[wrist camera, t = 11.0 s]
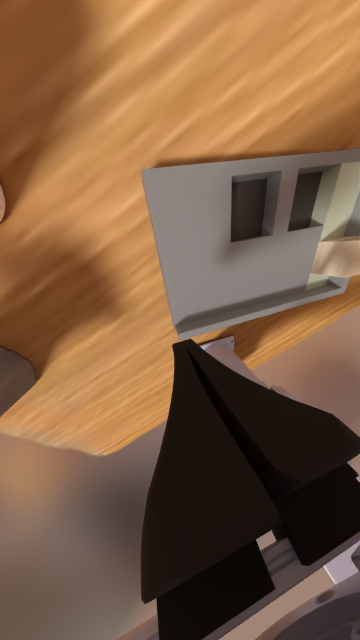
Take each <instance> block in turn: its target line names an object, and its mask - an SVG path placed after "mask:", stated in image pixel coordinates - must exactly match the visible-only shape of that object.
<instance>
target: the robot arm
mask: <svg viewBox="0 0 360 640" xmlns="http://www.w3.org/2000/svg"><path fill="white" fill-rule="evenodd" d="M172 347H173V352H174V382H173V391H172V398H171V404H170V409H169V415H168V420H167V424H166V429H165V433H164V437H163V441H162V445H161V449H160V453H159V457H158V461H157V464H156V467H155V471H154V474H153V478H152V482H151V485H150V488H149V492H148V496H147V503H146V509H145V516H144V523H143V533H142V543H141V599H142V601H143V602H144V604H146V603H148V602H150V601H152V600H154V599H156V598H157V615H155V616H153V617H152V618H150V619H149V620H147V621H145V622H144V623H142V624H140V625H139V626H137V627H136V628H134V629H132V630H131V631H129V632H127V633H126V634H124V635H123V636H121V637H119V638H118V639H116V640H218V639H220V638H221V637H223V636H224V635H226V634H227V633H228V632H230V631H231V630H233V629H234V628H236V627H237V626H238V625H240V624H241V623H243V622H244V621H246V620H247V619H248V618H250V617H251V616H253V615H254V614H256V613H257V612H258V611H260V610H261V609H263V608H264V607H266V606H267V605H268V604H270V603H271V602H273V601H274V600H276V599H277V598H278V597H280V596H281V595H283V594H284V593H286V592H287V591H288V590H290V589H291V588H293V587H294V586H296V585H297V584H299V583H300V582H301V581H303V580H304V579H306V578H307V577H309V576H310V575H311V574H313V573H314V572H316V571H317V570H319V569H320V568H321V567H323V566H324V568H325V569H326V571H327V572H328V574H329V576H330V577H331V579H332V580H333V582H334V583H335V585H334V586H333V587H331V588H329V589H328V590H326V591H324V592H322V593H321V594H319V595H317V596H315V597H313V598H312V599H310V600H308V601H307V602H305V603H303V604H302V605H300V606H298V607H297V608H296V609H294V610H292V611H291V612H289V613H288V614H286V615H285V616H284V617H282V618H281V619H280V620H278V621H277V622H276V623H275V624H273V625H272V626H271V627H269V628H268V629H267V630H266V631H264V632H263V633H262V634H261V635H260V636H259V637H258V638H256V639H255V640H360V478H359V474H358V472H357V471H356V469H354V467H353V466H352V462H351V459H353V458H354V457H356V456H357V455H358V454H360V437H359V436H358V435H357V434H355V433H354V432H353V431H352V430H351V429H350V428H348V427H347V426H346V425H345V424H344V423H343V422H341V421H340V420H339V419H338V418H336V417H335V416H334V415H333V414H331V413H328V412H325V411H322V410H320V409H317V408H314V407H311V406H309V405H306V404H304V403H301V402H299V401H298V400H297V399H296V398H295V397H294V396H293V395H292V394H291V393H290V392H288V391H287V390H286V389H284V388H283V387H279V386H276V385H273V386H271V387H270V388H269V387H268V386H267V385H266V384H265V383H264V382H263V381H260V380H259V379H258V378H257V377H256V376H255V374H254V373H253V372H252V371H251V370H250V369H249V368H248V367H247V366H246V365H245V364H244V362H243V361H242V360H241V359H240V358H239V357H238V356H237V355H236V354H235V353H234V337H233V336H229V337H226V338H223V339H219V340H216V341H213V342H209V343H206V344H203V345H198V344H196V343H195V342H194V341H193V340H192V339H188V340H185V341H181V342H178V343H174V344H173V345H172ZM269 531H272V532H273V534H274V536H275V538H276V541H275V542H274V543H272V544H271V545H269V546H267V547H266V548H264V549H262V550H261V551H260V549H259V546H258V544H257V542H256V539H257V538H259V537H260V536H262V535H264V534H266V533H267V532H269Z"/></svg>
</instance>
